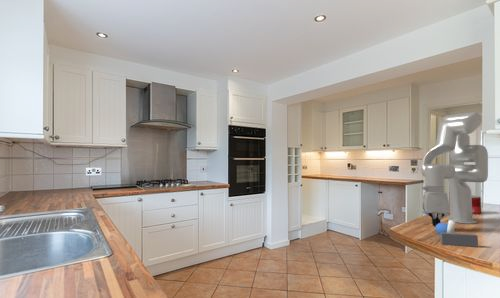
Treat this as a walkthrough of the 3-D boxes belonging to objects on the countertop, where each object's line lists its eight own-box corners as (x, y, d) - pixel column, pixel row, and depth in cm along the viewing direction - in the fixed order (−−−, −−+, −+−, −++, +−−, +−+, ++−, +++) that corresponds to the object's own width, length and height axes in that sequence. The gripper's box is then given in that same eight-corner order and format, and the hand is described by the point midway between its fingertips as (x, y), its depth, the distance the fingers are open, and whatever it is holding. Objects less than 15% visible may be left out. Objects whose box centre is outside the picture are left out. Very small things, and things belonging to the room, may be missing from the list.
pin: (447, 234, 113) (449, 219, 110) (453, 237, 111) (456, 221, 108) (445, 237, 112) (447, 222, 109) (451, 240, 110) (454, 224, 107)
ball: (447, 238, 111) (443, 239, 116) (457, 229, 111) (453, 231, 116) (433, 228, 114) (430, 229, 119) (443, 219, 114) (440, 220, 119)
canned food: (484, 214, 156) (483, 196, 156) (469, 214, 158) (468, 196, 158) (476, 212, 163) (475, 195, 164) (461, 211, 165) (461, 194, 165)
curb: (440, 242, 106) (439, 232, 106) (475, 245, 102) (474, 234, 103) (442, 244, 104) (441, 233, 104) (478, 247, 101) (477, 235, 101)
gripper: (419, 190, 125) (421, 227, 124) (456, 190, 120) (458, 229, 119) (415, 188, 132) (416, 224, 131) (449, 189, 127) (451, 225, 127)
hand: (436, 226), depth 125 cm, fingers closed
